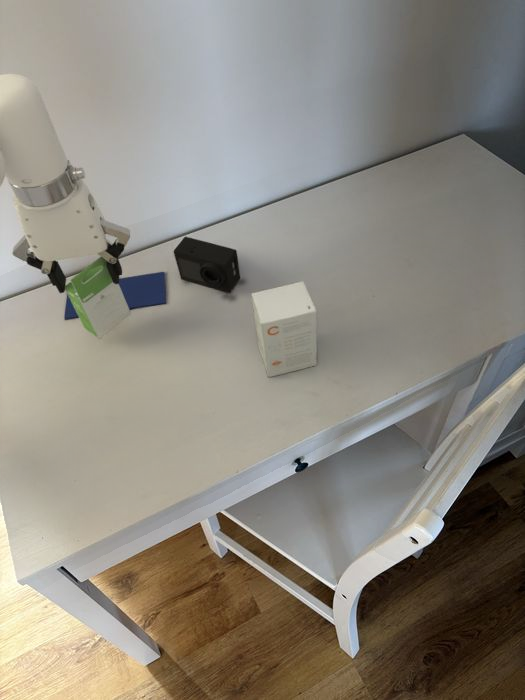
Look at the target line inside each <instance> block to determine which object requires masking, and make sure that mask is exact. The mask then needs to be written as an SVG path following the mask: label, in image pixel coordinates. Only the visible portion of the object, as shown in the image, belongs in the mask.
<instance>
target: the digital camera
mask: <svg viewBox="0 0 525 700" xmlns="http://www.w3.org/2000/svg"><path fill="white" fill-rule="evenodd" d="M173 256H174V259H175V263H176V266H177V269H178V273H179V277H180V280H183V281H185V282H189V283H192V284H195V285H199V286H202V287H206V288H209V289H212V290H216V291H220V292H223V293H227V294H231V293H232V292H233V290H234V288H235V287H236V285H237V284H238V283H239V281H240V279H241V273H240V266H239V265H240V264H239V259H238V252H237V249H235V248H231V247H227V246H223V245H220V244H216V243H213V242H208V241H205V240H201V239H197V238H193V237H188V236H184V237H183V238H182V239H181V241H180V242H179V243H178V245H177V246H176V247H175V248H174V250H173Z"/></svg>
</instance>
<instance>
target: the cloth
mask: <svg viewBox="0 0 525 700" xmlns="http://www.w3.org/2000/svg"><path fill="white" fill-rule="evenodd" d="M165 275H166V274H165V271H158V272H152V273H145V274H141V275H133V276H126V277H119V286H120V288H121V291H122V293H123V295H124V298H125V300H126V303H127V305H128V307H129V310H130V311H131V310H134V309H135V310H136V309H141V308H147V307H154V306H161V305H166V304H167V296H166V276H165ZM63 317H64V318H63V319H64V320H65V321H67V320H74V319H80V318H79V316H78V314H77V312H76V310H75V308H74V306H73V304H72V302H71V300H70V298H69V296H68V294H67V293H66V298H65V307H64V316H63Z"/></svg>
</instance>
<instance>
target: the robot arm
mask: <svg viewBox="0 0 525 700" xmlns="http://www.w3.org/2000/svg"><path fill="white" fill-rule="evenodd" d="M5 178H6V180H7V182H8V184H9V185H10V187H11V189H12V191H13V203H14V208H15V211H16V215H17V216H18V220H19V224H20V226H21V229H22V232H23V234H24V235H23V236H21V238H20V239H19V240H18V242H17V243H15V245H14V246H13V248H12V256H14V257H15V258H17V259H19V260H21V261H23V262H26V264H27V265H28V266H30V267H33V268H35V269H37V270H40V272H41V273H42V274H43V275H46V276H47V277H48V279H49V281H50V283H51V284H52V286H53V287H54V286H55V288H56V289H57V291H58V293H59V294H63V293H65V292H66V290H65V288H64V286H66V285H67V277H66V274H65V273H64V271H63V270H62V267H61V265H60V263H59V262H58V261H61V260H68V259H75V258H80V257H81V258H82V257H87V256H92V255H93V256H94V255H98V256H99V257H102V258H104V259H105V260H106V261H107V264H106V265H107V269H108V271H109V274H110V276H111V278H112V281H113V283H114V284H119V279H120V276H122V275H123V268H122V265H121V263H120V260H119V257H120V256H121V255H122V253H123V252H124V250H125V247H126V246H127V244H128V242H129V240H130V238H131V230H130V229H129V228H127V227H124V226H121V225H118V224H116V223H113V222H110V221H107V220H106V219H105V216H104V215H103V213H102V210H101V209H100V207H99V205H98V203H97V201H96V199H95V197H94V195H93V194H92V192H91V190H90V189H89V187H88V186H87V184H86V183H85V182H84V180H83V179H85V178H86V173H85V171H84V168H83V167H77V166H73V165H72V164H71V161H70V159H67V156H66V154H65V150H64V149H63V146H62V143H61V141H60V138H59V136H58V134H57V131H56V129H55V127H54V124H53V121H52V119H51V117H50V114H49V111H48V109H47V107H46V104H45V101H44V100H43V97H42V95H41V93H40V90H39V88H38V86H37V85H36V84H35V83H34V81H32V79H30V78H29V77H27V76H25V75H23V74H18V73H4V74H0V187H1V186H2V185H3V183H4V180H5ZM106 235H108V236H111V237H114V238H116V239H115V240H114V242H113V243H112V242H111V241H110V240H108V238H107V237H106ZM29 249H31V251H30V250H29Z"/></svg>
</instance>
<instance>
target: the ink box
mask: <svg viewBox="0 0 525 700" xmlns="http://www.w3.org/2000/svg"><path fill="white" fill-rule="evenodd" d="M106 264H107V261H106V260H105V259H104V258H102V257H101V256H99V258H97V259H96V260H94V261H93V262H92V263H91V264H90V265H88V266H87V267H85V268H84V269H83V270H81V271H80V272H79V273H77V274H76V275H74V277H72V278H70V279H69V282H68V283H66V285H65V286H64V288H65V292H66V295H67V294H68V296H69V298H70V300H71V302H72V304H73V306H74V308H75V310H76V312H77V314H78V316H79V318H78V319H79V320H80V322H81V324H82V326H83V328H84V329H85V330H86V331H88V332H89V333H90V334H92V335H93V336H94V337H96V338H97V339H99V340H100V339H102V337H103V336H105V335H106V334H107V333H109V332H110V331H111V330H112V329H114V328H115V327H116V326H118V325H119V324H120V323H121V322H123V321H124V320H125V319H126V318H128V317H129V316H130V315H131V314H132V312H131V309H130V310H129V307H128V305H127V303H126V300H125V298H124V295H123V293H122V291H121V288H120V286H119V284H114V283H113V281H112V278H111V276H110V274H109V271H108V269H107V265H106Z"/></svg>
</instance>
